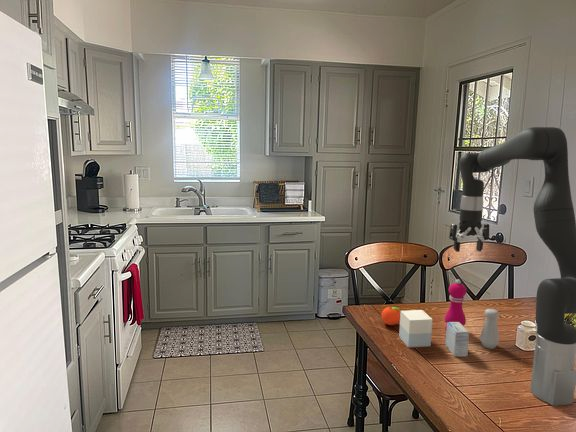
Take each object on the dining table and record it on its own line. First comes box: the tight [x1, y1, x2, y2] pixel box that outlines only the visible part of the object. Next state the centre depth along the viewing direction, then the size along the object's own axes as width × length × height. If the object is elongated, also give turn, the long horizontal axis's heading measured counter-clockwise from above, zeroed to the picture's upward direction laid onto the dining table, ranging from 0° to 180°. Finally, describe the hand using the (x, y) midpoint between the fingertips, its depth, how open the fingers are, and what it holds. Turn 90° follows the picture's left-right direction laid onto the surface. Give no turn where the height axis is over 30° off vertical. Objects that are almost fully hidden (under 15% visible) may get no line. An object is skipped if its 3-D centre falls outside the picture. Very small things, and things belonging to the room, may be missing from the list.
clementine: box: [381, 306, 401, 326], centre depth 155 cm, size 8×7×7 cm
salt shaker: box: [479, 308, 500, 350], centre depth 138 cm, size 6×6×13 cm
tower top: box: [399, 309, 433, 334], centre depth 141 cm, size 8×8×5 cm
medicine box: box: [445, 322, 470, 357], centre depth 135 cm, size 8×4×9 cm, turn 179°
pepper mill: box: [444, 279, 467, 331], centre depth 148 cm, size 7×7×20 cm
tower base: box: [398, 324, 432, 348], centre depth 142 cm, size 8×8×5 cm
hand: (468, 251), depth 150 cm, fingers open, 8 cm apart
